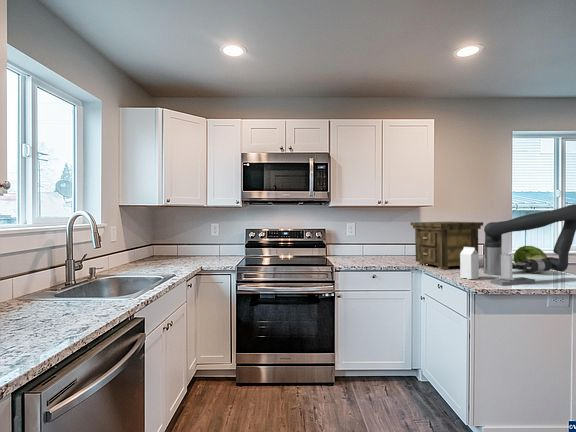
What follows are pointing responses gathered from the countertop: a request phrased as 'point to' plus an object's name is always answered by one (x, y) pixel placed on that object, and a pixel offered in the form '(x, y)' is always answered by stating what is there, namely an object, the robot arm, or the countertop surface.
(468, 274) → the milk carton
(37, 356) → the countertop surface
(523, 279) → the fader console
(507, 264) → the fader tab
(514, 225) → the robot arm
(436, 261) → the wooden drawer cabinet
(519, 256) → the lettuce
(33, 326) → the countertop surface
